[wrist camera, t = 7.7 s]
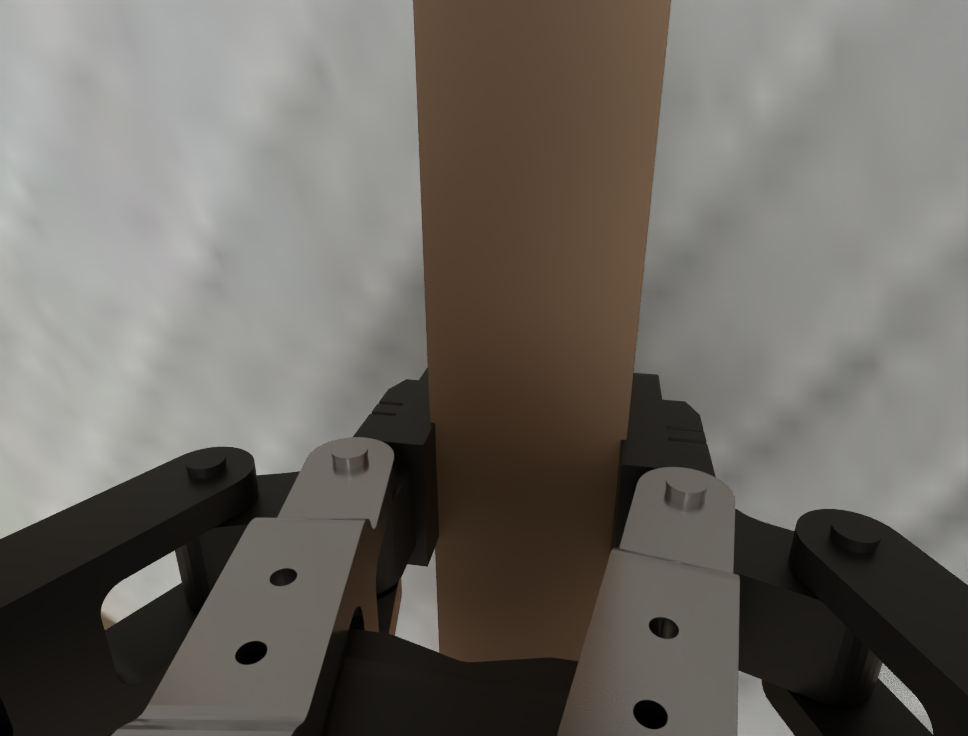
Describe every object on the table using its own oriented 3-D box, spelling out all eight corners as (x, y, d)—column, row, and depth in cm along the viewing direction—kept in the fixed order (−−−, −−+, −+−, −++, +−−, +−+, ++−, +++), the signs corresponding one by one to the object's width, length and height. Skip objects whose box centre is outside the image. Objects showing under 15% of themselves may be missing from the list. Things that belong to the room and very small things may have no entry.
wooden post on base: (762, -78, 10) (839, -152, 7) (638, 772, 19) (644, 942, 15) (388, -65, 11) (282, -124, 8) (430, 738, 20) (388, 888, 16)
